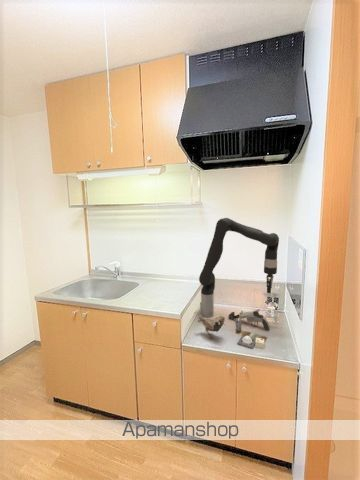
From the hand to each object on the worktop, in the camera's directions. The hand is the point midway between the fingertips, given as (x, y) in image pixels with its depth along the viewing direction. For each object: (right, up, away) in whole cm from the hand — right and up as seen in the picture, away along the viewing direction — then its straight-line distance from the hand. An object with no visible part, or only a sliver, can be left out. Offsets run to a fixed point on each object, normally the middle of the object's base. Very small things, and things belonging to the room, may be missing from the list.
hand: (269, 290), depth 152 cm
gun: (-10, -27, +13) cm, 32 cm away
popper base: (-16, -30, -8) cm, 36 cm away
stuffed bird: (-37, -30, -1) cm, 47 cm away
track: (-12, -29, 0) cm, 32 cm away
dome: (-16, -30, -8) cm, 35 cm away
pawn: (-19, -27, +3) cm, 33 cm away
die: (-10, -31, -11) cm, 34 cm away
